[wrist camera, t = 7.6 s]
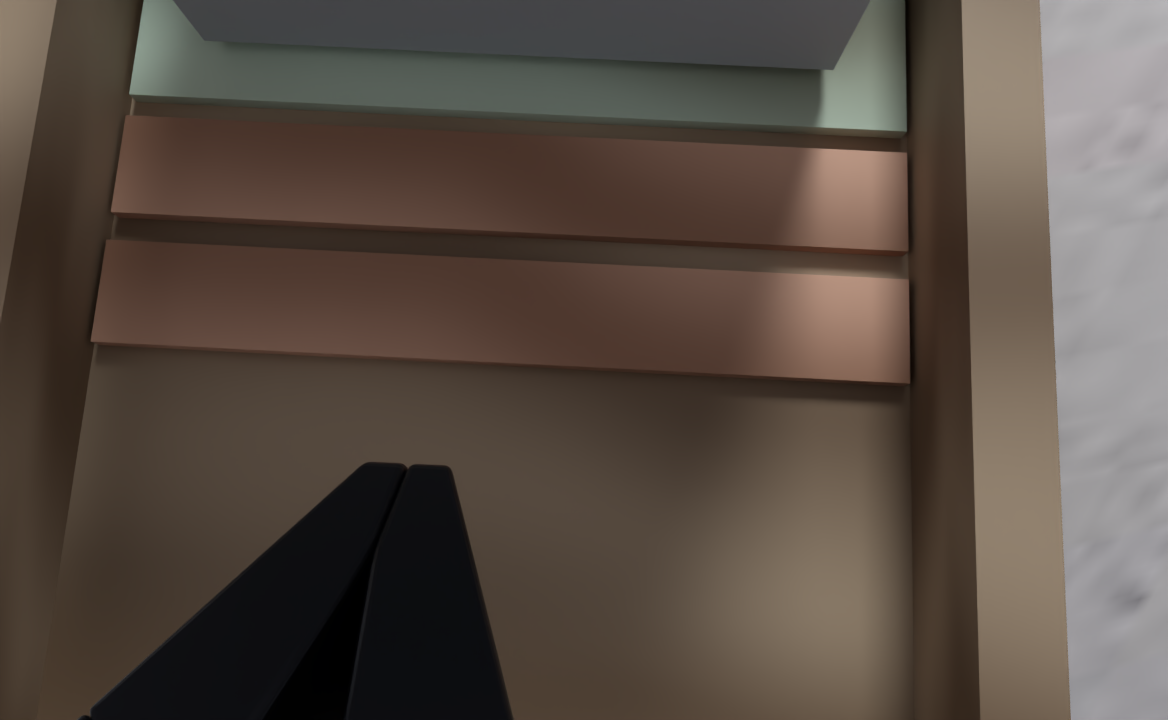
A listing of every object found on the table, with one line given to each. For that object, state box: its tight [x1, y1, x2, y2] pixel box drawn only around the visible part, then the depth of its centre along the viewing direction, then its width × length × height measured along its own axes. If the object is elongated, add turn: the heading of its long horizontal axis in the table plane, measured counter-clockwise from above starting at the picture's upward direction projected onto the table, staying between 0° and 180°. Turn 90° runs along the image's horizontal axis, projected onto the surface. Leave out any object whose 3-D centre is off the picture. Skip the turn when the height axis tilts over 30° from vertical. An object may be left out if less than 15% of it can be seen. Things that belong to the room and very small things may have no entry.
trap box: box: [0, 0, 1071, 720], centre depth 14 cm, size 23×16×5 cm
